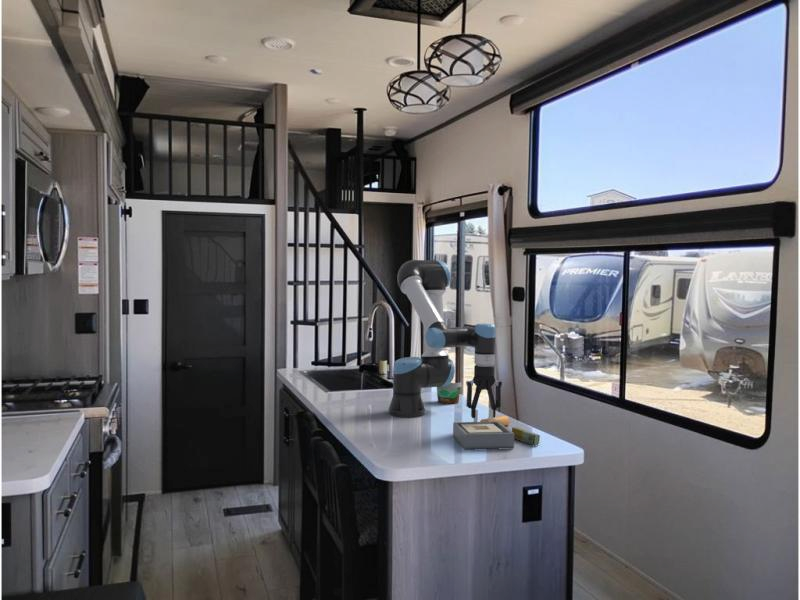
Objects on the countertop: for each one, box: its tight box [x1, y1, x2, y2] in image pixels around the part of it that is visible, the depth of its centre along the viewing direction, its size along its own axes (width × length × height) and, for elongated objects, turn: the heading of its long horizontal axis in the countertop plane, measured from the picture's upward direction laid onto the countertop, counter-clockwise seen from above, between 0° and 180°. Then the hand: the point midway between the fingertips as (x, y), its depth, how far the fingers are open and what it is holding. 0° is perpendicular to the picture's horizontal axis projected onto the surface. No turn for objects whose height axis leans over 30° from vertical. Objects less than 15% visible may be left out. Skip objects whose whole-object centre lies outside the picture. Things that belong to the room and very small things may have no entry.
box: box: [452, 421, 515, 451], centre depth 224 cm, size 17×17×6 cm
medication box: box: [511, 426, 541, 446], centre depth 227 cm, size 12×3×4 cm, turn 32°
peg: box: [479, 415, 510, 427], centre depth 247 cm, size 4×4×12 cm
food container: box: [436, 381, 463, 405], centre depth 288 cm, size 12×6×10 cm, turn 76°
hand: (483, 426), depth 240 cm, fingers open, 5 cm apart
